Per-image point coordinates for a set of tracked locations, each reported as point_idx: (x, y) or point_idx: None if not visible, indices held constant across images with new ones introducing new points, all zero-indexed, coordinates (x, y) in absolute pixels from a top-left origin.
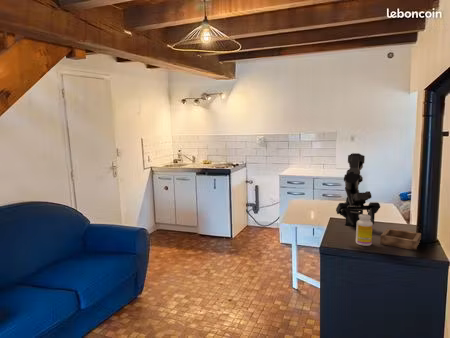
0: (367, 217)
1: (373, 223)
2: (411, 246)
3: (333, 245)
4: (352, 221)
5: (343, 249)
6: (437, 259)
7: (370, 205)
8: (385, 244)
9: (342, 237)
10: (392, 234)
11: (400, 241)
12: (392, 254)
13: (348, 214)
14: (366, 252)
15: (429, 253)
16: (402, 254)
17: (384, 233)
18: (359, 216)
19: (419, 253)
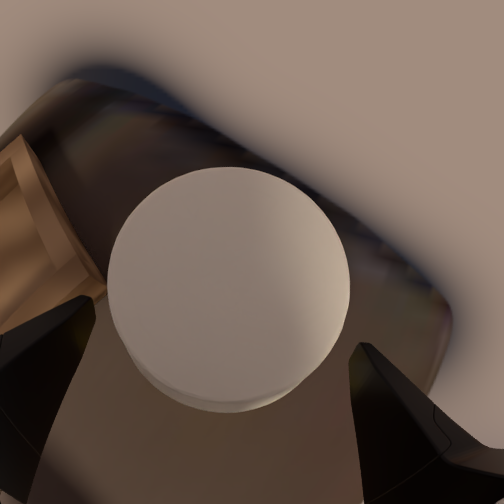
0: (245, 174)
1: (89, 296)
2: (38, 163)
3: (417, 328)
4: (381, 360)
5: (394, 256)
6: (72, 82)
7: None
8: (94, 263)
9: (290, 473)
10: None
11: (46, 188)
12: (181, 133)
13: (459, 426)
14: (297, 184)
15: (34, 127)
16: (136, 126)
17: (31, 313)
18: (340, 309)
19: (62, 129)
